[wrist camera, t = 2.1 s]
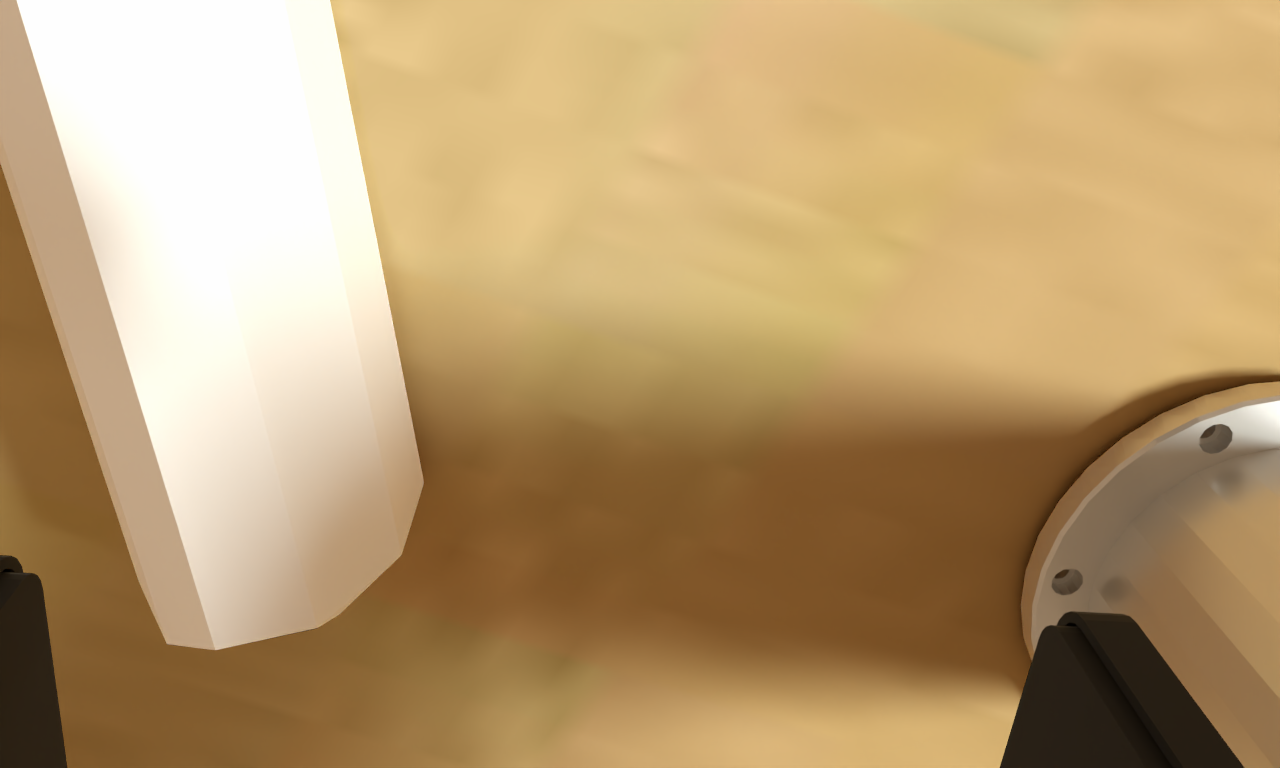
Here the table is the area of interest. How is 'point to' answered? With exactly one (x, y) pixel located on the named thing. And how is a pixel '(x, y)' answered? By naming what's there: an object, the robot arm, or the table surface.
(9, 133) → the white chamfered bar
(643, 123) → the table surface
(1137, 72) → the table surface
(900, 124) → the table surface
